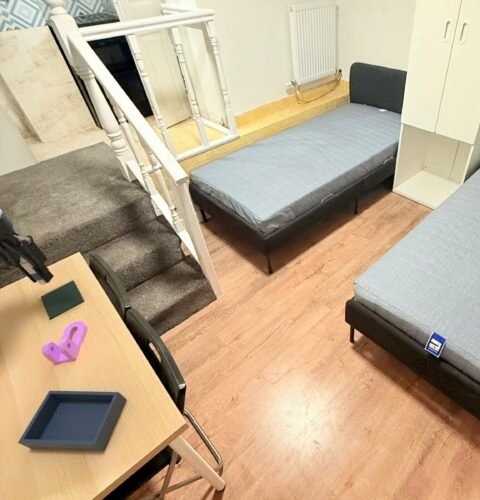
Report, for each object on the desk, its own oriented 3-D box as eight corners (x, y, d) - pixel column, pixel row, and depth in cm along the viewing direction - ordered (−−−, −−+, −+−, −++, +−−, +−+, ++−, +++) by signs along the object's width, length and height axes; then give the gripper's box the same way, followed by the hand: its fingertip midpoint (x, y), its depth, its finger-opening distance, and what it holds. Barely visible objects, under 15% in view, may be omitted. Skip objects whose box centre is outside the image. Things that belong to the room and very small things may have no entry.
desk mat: (41, 297, 110) (40, 296, 109) (73, 281, 114) (73, 280, 114) (50, 319, 103) (49, 318, 103) (84, 301, 108) (83, 300, 107)
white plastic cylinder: (36, 284, 101) (13, 261, 94) (44, 276, 103) (22, 253, 96) (46, 285, 101) (23, 262, 94) (53, 277, 103) (32, 254, 96)
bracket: (77, 360, 93) (63, 348, 88) (55, 365, 92) (40, 352, 87) (89, 321, 102) (76, 308, 97) (69, 325, 101) (55, 312, 96)
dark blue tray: (32, 449, 77) (17, 443, 74) (61, 398, 86) (49, 390, 82) (105, 451, 77) (94, 445, 73) (127, 400, 85) (118, 391, 81)
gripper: (-56, 229, 83) (9, 288, 99) (6, 229, 82) (62, 289, 98) (-33, 211, 88) (26, 270, 105) (26, 210, 87) (76, 270, 104)
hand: (43, 279), depth 102 cm, fingers closed on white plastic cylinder, 3 cm apart
